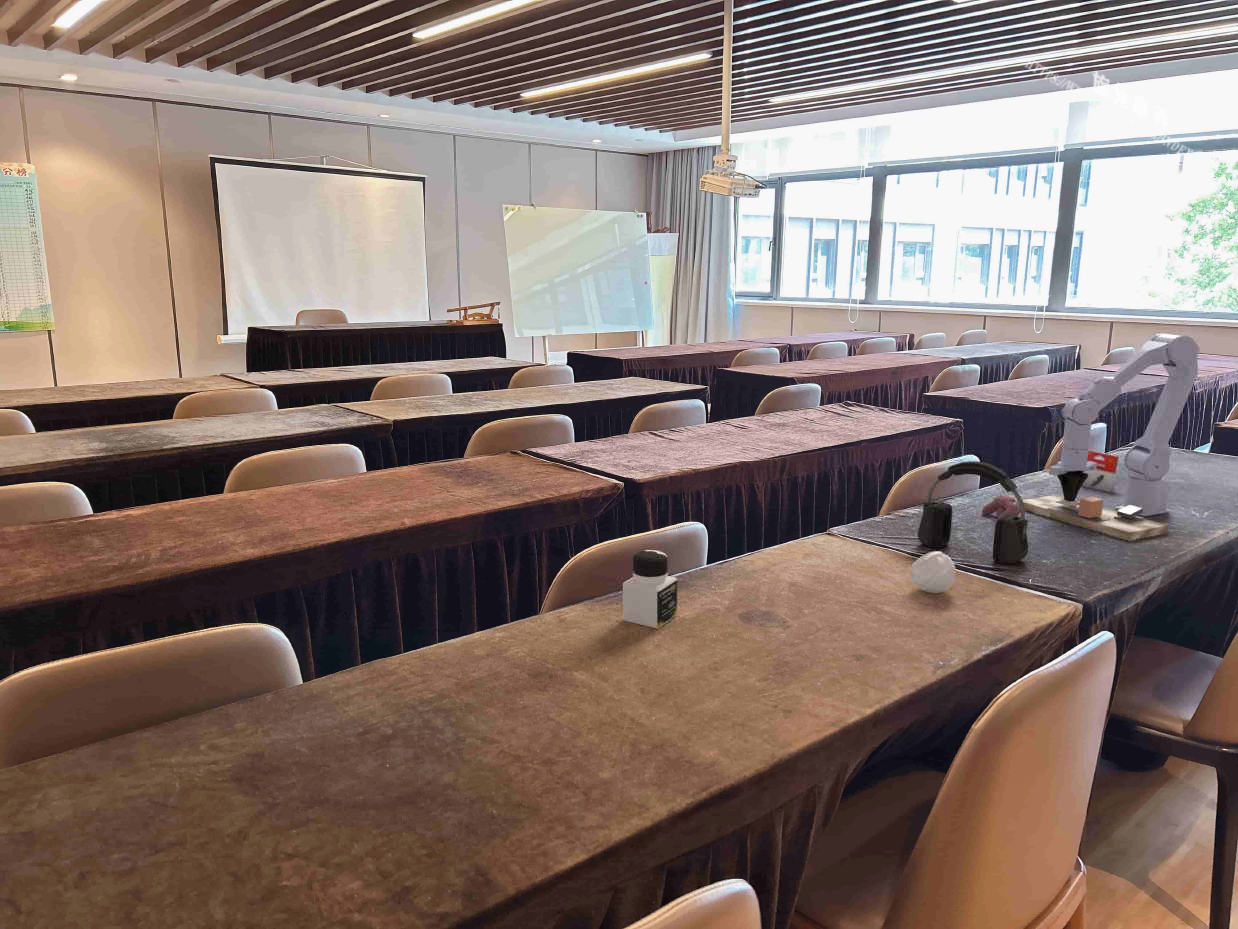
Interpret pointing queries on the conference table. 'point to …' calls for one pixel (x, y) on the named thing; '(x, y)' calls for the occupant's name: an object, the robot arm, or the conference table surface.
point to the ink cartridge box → (1102, 472)
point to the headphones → (1007, 529)
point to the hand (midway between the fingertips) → (1069, 500)
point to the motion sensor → (933, 572)
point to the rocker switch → (1129, 511)
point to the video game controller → (1002, 507)
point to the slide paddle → (1090, 507)
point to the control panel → (1096, 519)
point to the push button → (1069, 502)
